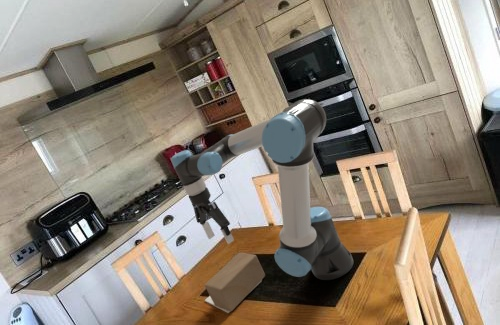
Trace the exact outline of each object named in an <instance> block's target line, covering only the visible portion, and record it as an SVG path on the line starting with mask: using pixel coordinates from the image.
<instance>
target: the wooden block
mask: <svg viewBox="0 0 500 325" xmlns="http://www.w3.org/2000/svg"><path fill="white" fill-rule="evenodd" d="M265 277H266V274H265V272H264V270H263V267H262V265H261V263H260V261H259V259H258V256H257V255H256V254H252V253H251V254H250V253H246V252H238V253H237V254H235V256H234V257H233V258H232V259H231V260H230V261H229V262H228V263H226V264H225V265H224V266H223V267H222V268H221V269H220V270H219V271H218V272H216V273H215V275H213V276H212V277H211V278H210V279H209V280H208V281H207V282H205V284H204V287H205V289H206V291H207V293H208V295H209V296H210V297H211V299H212V301H213V302H214V304H215V306H217V307H220V308H223V309H226V310H228V311H230V312H232V311H233V310H234V309H235V308H236V307H237V306H239V304H241V302H242V301H243V300H244V299H245V298H246V297H247V296H248V295H249V294H251V292H252V291H253V290H254V289H255V288H256V287H257V286H258V285H259V284H260V283H261V282H260V281H261V280H262V281H263V279H264V278H265ZM259 282H260V283H259ZM258 283H259V284H258ZM257 284H258V285H257ZM256 285H257V286H256ZM255 286H256V287H255ZM254 287H255V288H254ZM253 288H254V289H253ZM252 289H253V290H252ZM251 290H252V291H251ZM250 291H251V292H250ZM215 306H214V307H215ZM217 307H216V308H217Z"/></svg>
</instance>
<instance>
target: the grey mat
mask: <svg viewBox="0 0 500 325" xmlns="http://www.w3.org/2000/svg"><path fill="white" fill-rule="evenodd" d="M262 281H263V279H262V280H261V281H260V282H259V283H258V284H257V285H256V286H255V287H254V288H253V289H252V290H251V291H250V293H251V292H252V291H253V290H255V289H256V288H257V286H259V284H261V283H262ZM204 302H206V303H207V304H209V305H211V306H213V307H216V308H217V309H220V310H221V311H223V312H225V313H227V314H229V313H230V312H231V311H228V310H226V309H223V308H220V307H217V306H215V304H214V302H213V301H212V299H211V297H210V295H209V296H208V297H206V299H204Z"/></svg>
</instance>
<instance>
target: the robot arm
mask: <svg viewBox="0 0 500 325" xmlns="http://www.w3.org/2000/svg"><path fill="white" fill-rule="evenodd" d="M326 125H327V115H326V111H325V109H324V108H323V106H322V105H321V104H320V103H319V102H317V101H316V100H314V99H309V98H308V99H307V98H303V99H300V100H297V101H295V102H293V103H292V104H291V105H289V106H288V107H285V108H283V110H282V112H280V113H278V114H277V113H276V115H274V116H273V117H270V118H269V119H266V120H263V121H261V122H258V123H257V124H254V125H252V126H249V127H248V128H245V129H243V130H241V131H238V132H236V133H234V134H228V135H226V136H224V137H223V138H222V139H221V140H219V141H218V142H216V143H215V144H212V145H211V146H210V147H208V148H207V149H205V150H204V151H202V152H201V153H198V154H195V155H192V153H191V151H190V150H188V149H185V150H181V151H180V152H177V153H176V154H174V155H173V156H172V157H171V159H170V161H171V163H172V166H173V170H175V173H176V175H177V176H178V179H179V180H180V182H181V184H182V187H183V189H184V191H185V193H186V195H188V198H189V201H190V202H191V205H192V207H193V211H194V214H195V219H196V222H197V224H200V225H201V227H202V228H203V229H202V230H204V233H205V234H206V236H207V238H208V240H211V239H212V238H214V237H215V233H214V231H213V229H212V226H211V224H210V222H209V221H208V218H207V217H210V218H211V219H213V221H214V222H215V223H216V224H217V225H218V226H219V227H220V231H221V233H222V236H223V237H224V239H225V241H226V243H227V245H231V243H232V242H233V241H235V239H234V237H233V234H232V232H231V230H230V228H229V226H230V225H231V223H230V220H228V218H227V217H226V216H225V214H224V213H223V211H222V210H221V208H219V206H218V204H217V202H216V201H213V202H211V201H210V198H211V193H210V190H209V189H208V187H207V185H206V182H205V181H204V178H203V177H205V176H212V175H215V174H218V173H219V172H221V169H222V167H223V165H224V164H225V163H226V162H228V161H229V160H231V159H232V158H235V157H237V156H240V155H243V154H245V153H248V152H251V151H253V150H256V149H259V148H261V147H263V150H264V152H265V153H267V156H268V157H269V158H271V161H272V163H273V164H274V165H276V166H277V170H278V171H277V173H278V174H277V175H278V182H279V183H278V184H279V194H280V207H281V215H282V218H281V219H282V226H283V227H282V228H281V229H280V230H279V233H278V234H279V235H278V239H279V247H278V248H277V249H276V251H275V252H274V260H275V263H276V264H277V266H278V267H279V268H280V269H281V270H282V271H283V272H285V273H286V274H288V275H290V276H293V277H298V278H302V277H305V276H306V275H308V273H309V272H310V271H311V272H312V274H313V275H314V278H317V279H319V280H321V281H330V280H335V279H336V280H337V279H339V278H340V277H342V276H345V275H346V274H348V272H350V270H351V269H352V268H353V266H354V259H353V256H352V254H351V252H350V250H348V249H347V247H345V245H344V243H342V242H341V239H340V236H339V233H338V231H337V228H336V226H335V224H334V221H333V217H332V215H331V213H330V211H329V209H327V208H326V207H323V206H314V207H311V196H310V195H311V193H310V191H311V190H310V169H309V164H310V163H311V162H312V161H313V160H314V156H315V154H314V142H315V140H316V139H317V138H318V137H319V136H320V135H321V134H322V133H323V131H324V130H325V127H326Z"/></svg>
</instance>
